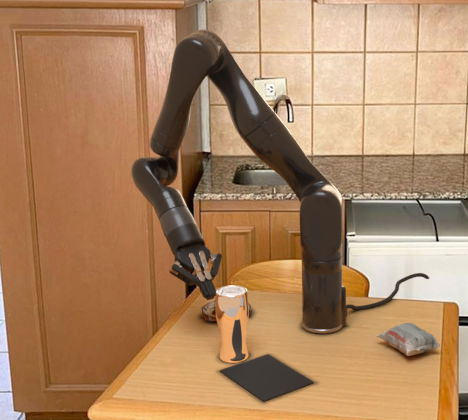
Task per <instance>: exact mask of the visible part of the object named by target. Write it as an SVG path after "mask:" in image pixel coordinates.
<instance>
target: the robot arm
mask: <svg viewBox="0 0 468 420" xmlns="http://www.w3.org/2000/svg"><path fill="white" fill-rule="evenodd" d="M168 78H169V79H168V83H167V87H166V91H165V95H164V99H163V101H162V106H161V109H160V111H159V114H158V117H157V120H156V122H155V125H154V128H153V130H152V133H151V136H150V138H149V148H150V150H151V151H152V152H153V153H154V154H155V155H157V156H145V157H144V156H143V157H139V158H136V159H135V160H134V161H133V163H132V165H131V168H130V169H131V170H130V176H131V179H132V181H133V183H134V185H135V187H136V188H137V190H138V191H139V192H140V193H141V194H142V196H143V197H144V198H145V199H146V200H147V202H148V203H149V204H150V205H151V206H152V207H153V210H154V212H155V214H156V216H157V219H158V221H159V224H160V227H161V230H162V233H163V235H164V238H165V240H166V242H167V243H168V246H169V248H170V251H171V253H172V255H173V256H174V259H173V260H174V263H173V264H172V265H171V267H170V269H169V274H171V275H172V276H174V277H175V278H177V279H178V280H179V281H182V282H183V283H185V284H186V285H188V286H190V287H191V286H197V287H198V289H199V291H200V293H201V296H202V297H203V298H204V299H205V300H206V301H210V300H214V299H215V298H216V290H217V288H216V287H215V285H214V283H213V281H214V280H215V279H216V276H217V275H218V273H219V269H220V266H221V262H222V259H223V255H222V254H221V253H217V254H215V253H213V252H212V251H211V250H210V248H209V247H207V245H206V243H205V239H204V237H203V235H202V232H201V231H200V230H201V229H200V228H199V226H198V224H197V222H196V219H195V218H194V215H193V214H192V212H191V211H190V209H189V207H188V206H187V203H186V200H185V199H184V197H183V195H182V193H181V191H180V190H179V189H177V188H176V187H172V186H171V185H172V184H173V183H174V182H175V181H176V180H177V177H178V175H179V164H180V163H179V161H180V151H181V148H182V145H183V143H184V140H185V137H186V135H187V132H188V129H189V126H190V120H191V113H192V112H191V111H192V105H193V102H194V99H195V96H196V94H197V92H198V91H199V88H200V87H201V86H202V84H203V82H204V80H205V79H206V78H207V79H208V80H210V82H211V83H212V84H213V85H214V87H215V88H216V89H217V90H218V92H219V93H220V95H221V96H222V98H223V100H224V103H225V105H226V107H227V110H228V111H227V112H228V114H229V116H230V119H231V122H232V124H233V127H234V128H235V130H236V132H237V134H238V135H239V137H240V138H241V139H242V141H243V142H244V143H245V144H246V145H247V147H248V148H249V150H250V151H251V152H252V153H253V154H254V155H255V156H256V157H257V158H258V159H259V160H260V161H261V162H262V163H263V164H264V165H266V166H267V167H269V169H271V170H272V171H274V172H275V173H276V174H278V176H279V177H281V178H282V179H283V180H284V181H285V182H286V184H287V185H288V186H289V188H290V189H291V191H292V192H293V194H294V195H295V196H296V198H297V199H298V201H299V203H300V205H299V244H300V252H301V253H300V254H301V255H300V256H301V311H302V312H301V313H302V316H301V319H302V321H301V327H302V329H304V330H305V331H307V332H309V333H313V334H331V333H336V332H338V331H340V330H341V329H342V328H344V327H347V317H348V310H349V309H350V310H352V311H362V310H369V309H372V308H376V307H379V306H382V305H384V304H387V303H388V302H391V300H393V299H394V297H395V296H396V295H397V293H398V292H399V290H400V286H401V284H403V283H405V282H407V281H409V280H411V279H414V278H424V279H425V280H429V279H430V276H429V275H427V274H426V273H424V272H416V273H412V274H409V275H407V276H405V277H401V278H400V279H398V280H397V281H396V283H395V285H394V289H393V291H392V292H391V293H390V294H389V296H387V297H386V298H384V299H382V300H379V301H377V302H373V303H370V304H363V305H354V304H347V288H346V286H344V285H343V198H342V197H343V196H342V195H341V193H340V192H339V190H338V188H336V186H335V185H334V184H333V183H332V182H331V181H330V180H329V179H328V178H327V177H326V176H325V175H324V174H323V173H322V172H321V171H320V170H319V169H318V167H316V166H315V164H314V163H313V162H312V161H311V160H310V159H309V157H308V156H307V155H306V153H305V152H304V150H303V148H302V147H301V146H300V144H299V143H298V141H297V140H296V138H295V137H294V136H293V134H292V133H291V131H290V130H289V128H288V127H287V126H286V124H285V123H284V122H283V121H282V119H281V118H280V117H279V115H278V114H277V113H276V111H274V109H273V108H272V107H271V106H270V105H269V103H268V102H267V101H266V100H265V99H264V97H263V96H262V94H261V93H260V92H259V91H258V89H257V88H256V87H255V86H254V84H253V83H252V82H251V81H250V79H249V78H248V77H247V75H245V72H244V71H243V70H242V68H241V67H240V65H239V63H238V62H237V61H236V59H235V57H234V55H233V54H232V52H231V51H230V49H229V47H228V46H227V45H226V43H225V42H224V40H223V39H222V38H221V37H220V36H219V35H218V34H217V33H215V32H214V31H212V30H209V29H198V30H195V31H194V32H192V33H190V34H188V35H186V36H185V37H182V39H181V40H179V42H178V43H177V44H176V46H175V48H174V52H173V56H172V61H171V66H170V72H169V77H168ZM209 261H210V264H211V268H210V265H209Z"/></svg>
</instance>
